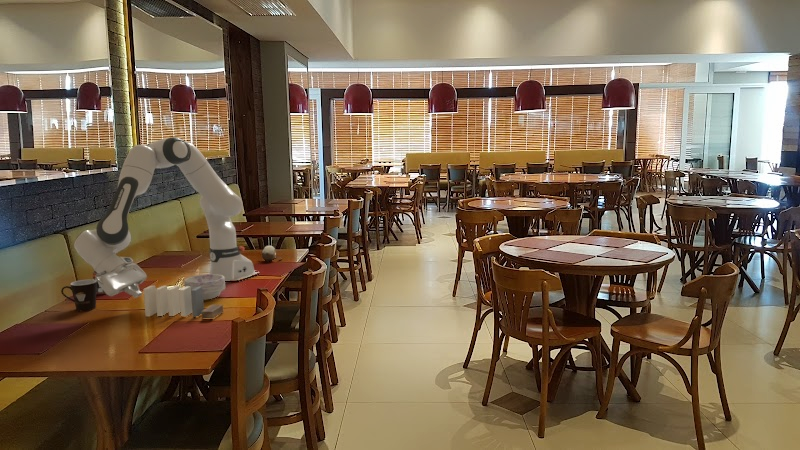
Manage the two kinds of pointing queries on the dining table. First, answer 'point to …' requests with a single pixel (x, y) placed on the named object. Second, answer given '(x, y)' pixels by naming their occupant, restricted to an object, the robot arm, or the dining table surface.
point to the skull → (269, 253)
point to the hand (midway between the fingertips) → (139, 295)
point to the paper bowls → (207, 284)
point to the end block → (212, 311)
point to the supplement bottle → (98, 288)
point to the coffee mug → (83, 294)
